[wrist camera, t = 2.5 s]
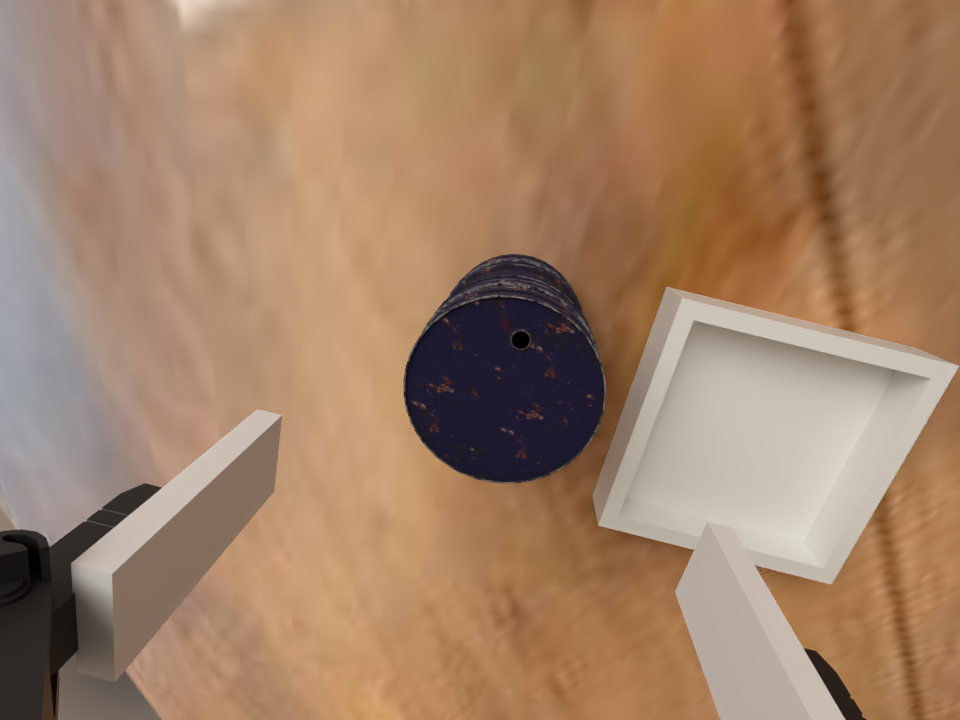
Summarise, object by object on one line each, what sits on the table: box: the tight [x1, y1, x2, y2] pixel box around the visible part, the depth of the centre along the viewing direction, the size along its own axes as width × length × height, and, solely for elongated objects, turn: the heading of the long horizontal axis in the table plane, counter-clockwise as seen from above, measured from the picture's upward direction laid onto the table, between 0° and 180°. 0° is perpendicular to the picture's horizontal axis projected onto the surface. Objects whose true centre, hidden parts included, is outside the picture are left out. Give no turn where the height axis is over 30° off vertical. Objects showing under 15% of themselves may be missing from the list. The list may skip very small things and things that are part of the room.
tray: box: [592, 287, 959, 585], centre depth 37 cm, size 18×18×4 cm
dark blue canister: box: [404, 254, 606, 484], centre depth 31 cm, size 10×10×15 cm
